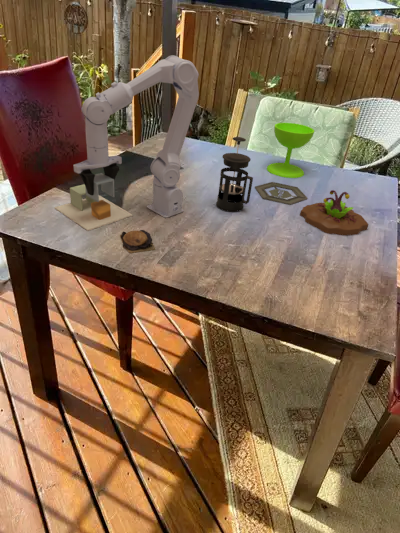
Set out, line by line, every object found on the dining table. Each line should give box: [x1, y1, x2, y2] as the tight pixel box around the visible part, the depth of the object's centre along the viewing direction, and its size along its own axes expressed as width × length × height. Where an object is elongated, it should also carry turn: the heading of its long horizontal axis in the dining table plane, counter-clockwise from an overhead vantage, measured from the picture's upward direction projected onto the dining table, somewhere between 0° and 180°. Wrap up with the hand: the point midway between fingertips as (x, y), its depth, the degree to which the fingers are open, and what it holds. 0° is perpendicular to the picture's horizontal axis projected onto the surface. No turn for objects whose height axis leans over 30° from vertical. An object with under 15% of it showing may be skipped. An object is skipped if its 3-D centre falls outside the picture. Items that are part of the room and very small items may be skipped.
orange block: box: [91, 200, 111, 220], centre depth 120 cm, size 4×4×4 cm
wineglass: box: [266, 122, 315, 179], centre depth 165 cm, size 16×16×18 cm
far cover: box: [69, 183, 96, 211], centre depth 124 cm, size 6×6×6 cm
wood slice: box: [119, 229, 156, 254], centre depth 110 cm, size 11×9×4 cm
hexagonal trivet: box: [254, 181, 309, 206], centre depth 149 cm, size 17×20×1 cm
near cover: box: [85, 172, 116, 202], centre depth 116 cm, size 6×6×6 cm
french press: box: [215, 136, 254, 213], centre depth 129 cm, size 12×9×23 cm
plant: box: [299, 189, 369, 236], centre depth 130 cm, size 20×20×11 cm
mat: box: [54, 195, 133, 232], centre depth 123 cm, size 18×16×1 cm
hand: (100, 191), depth 116 cm, fingers closed on near cover, 6 cm apart
